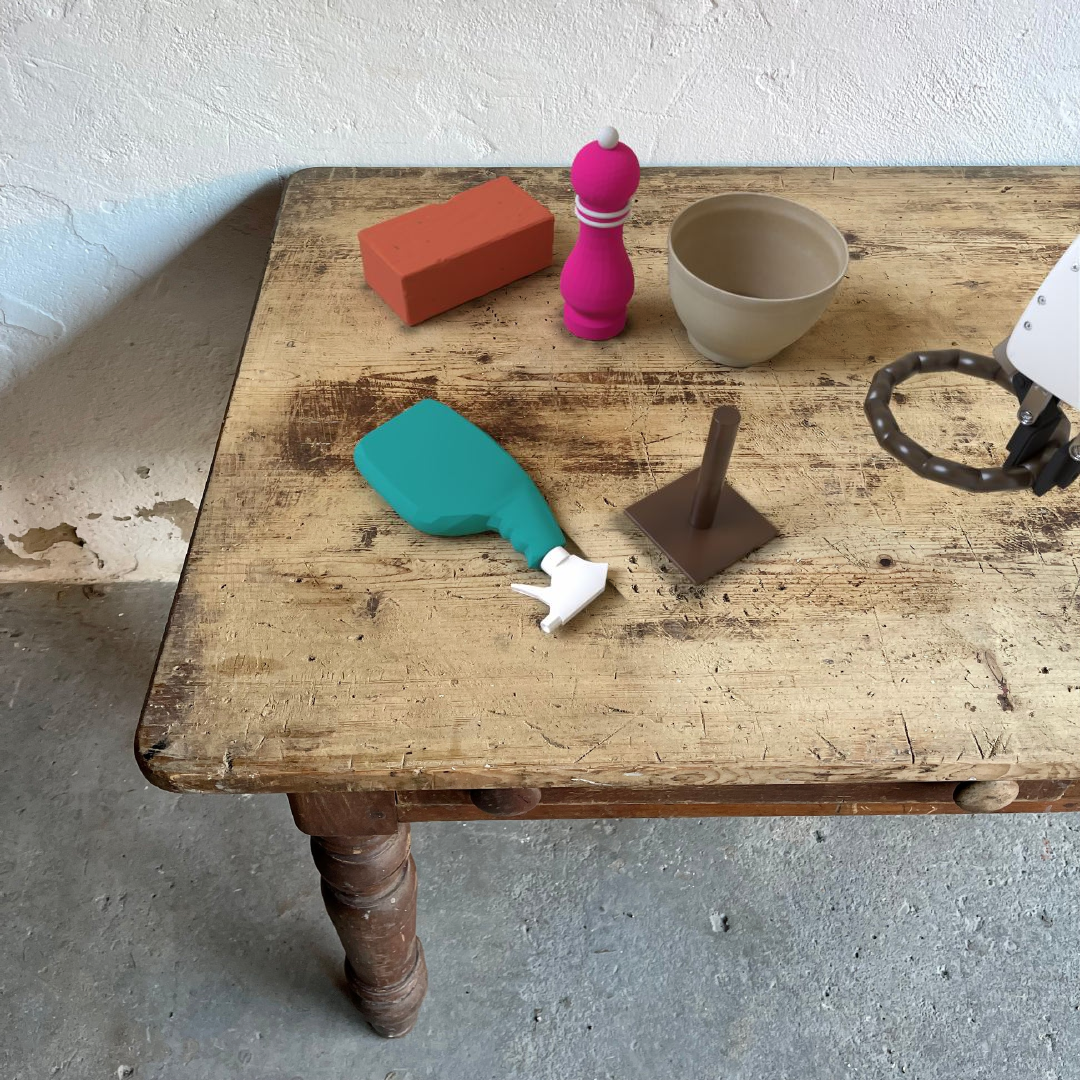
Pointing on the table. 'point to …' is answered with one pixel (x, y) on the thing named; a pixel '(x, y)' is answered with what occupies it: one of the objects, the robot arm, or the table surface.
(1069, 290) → the robot arm
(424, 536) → the table surface
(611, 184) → the pepper mill
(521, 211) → the brick
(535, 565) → the spray bottle
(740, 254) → the planter bowl
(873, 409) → the ring
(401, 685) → the table surface
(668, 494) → the stand
